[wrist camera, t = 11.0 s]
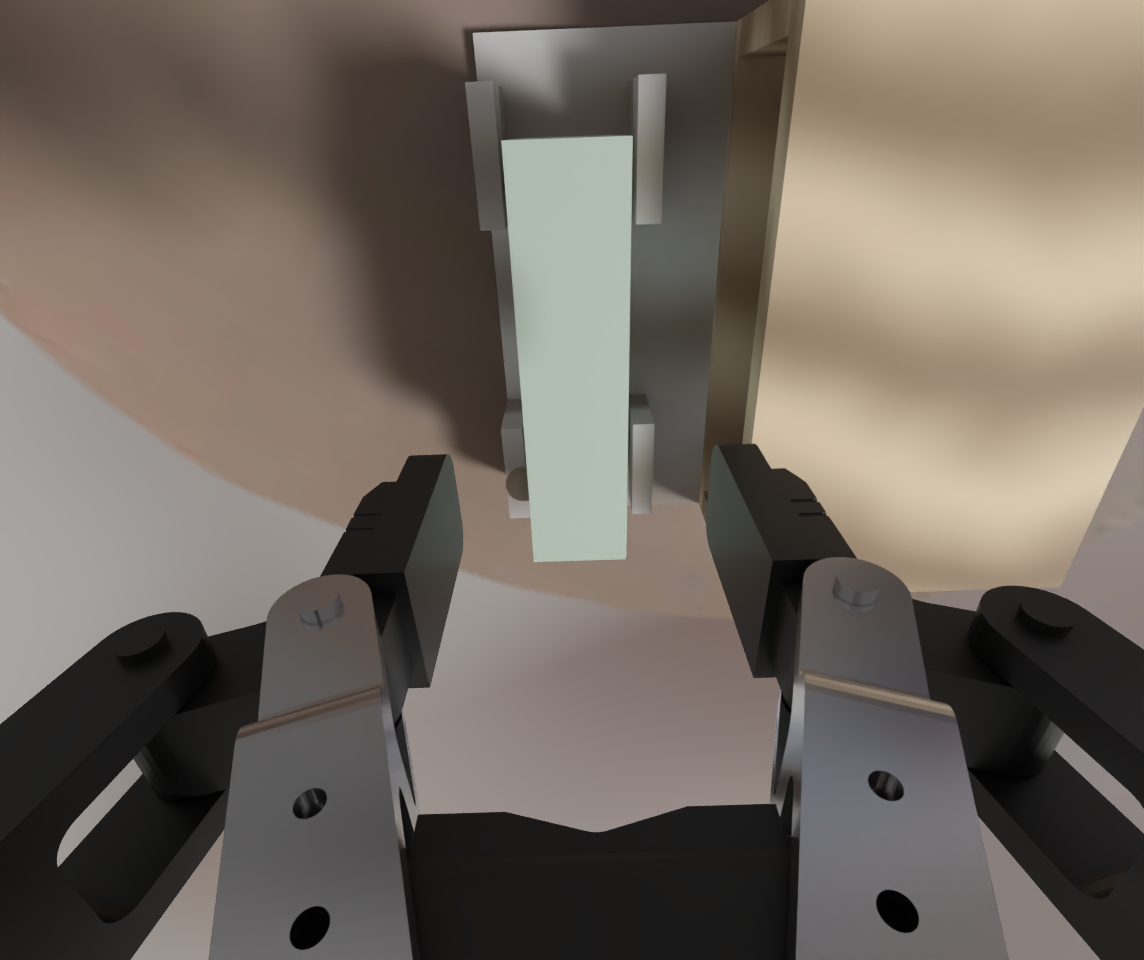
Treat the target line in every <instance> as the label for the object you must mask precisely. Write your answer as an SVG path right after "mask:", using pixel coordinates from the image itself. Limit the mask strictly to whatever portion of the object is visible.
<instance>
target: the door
mask: <svg viewBox="0 0 1144 960" xmlns="http://www.w3.org/2000/svg"><path fill="white" fill-rule="evenodd" d="M501 143H502V156H503V169H504V182H505V194H506V207H507V220H508V233H509V246H510V259H511V272H512V285H513V297H514V310H515V323H516V336H517V349H518V362H519V375H520V387H521V400H522V413H523V426H524V439H525V452H526V465H527V467H519V468H516V469H514V470H513V471H511V472H510V474H509V475H508V477H507V480H506V488H507V491H508V493H509V494H510V496H511V497H513V498H514V499H516V500H518V501H528V500H529V503H530V516H531V529H532V542H533V555H534V562H547V561H580V560H613V559H626V538H627V473H628V408H629V344H630V279H631V214H632V150H633V136H628V135H593V136H566V137H538V138H519V139H510V140H501Z"/></svg>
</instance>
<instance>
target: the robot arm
mask: <svg viewBox="0 0 1144 960" xmlns="http://www.w3.org/2000/svg"><path fill="white" fill-rule="evenodd" d="M706 530H707V539H708V544H709V548H710V551H711V554H712V557H713V560H714V563H715V566H716V569H717V572H718V575H719V578H720V581H721V583H722V586H723V589H724V592H725V595H726V598H727V601H728V604H729V607H730V610H731V613H732V616H733V619H734V622H735V625H736V628H737V630H738V634H739V637H740V640H741V642H742V645H743V648H744V651H745V654H746V657H747V660H748V663H749V666H750V669H751V672H752V675H753V677H754V678H768V677H776V678H777V681H778V683H779V686H780V689H781V692H780V697H779V702H778V708H777V717H776V730H775V742H774V756H773V768H772V780H771V781H772V782H771V793H770V804H752V805H721V806H687V807H684V808H681V809H678V810H674V811H671V812H668V813H664V814H661V815H658V816H655V817H651V818H648V819H645V820H641V821H638V822H635V823H632V824H628V825H625V826H622V827H618V828H615V829H611V830H608V831H604V832H588V831H583V830H579V829H575V828H570V827H567V826H562V825H558V824H554V823H549V822H545V821H541V820H537V819H533V818H529V817H524V816H520V815H515V814H512V813H507V812H489V813H458V814H457V813H456V814H425V815H420V810H419V803H418V797H417V791H416V785H415V779H414V773H413V766H412V760H411V754H410V748H409V742H408V736H407V729H406V723H405V719H404V715H403V711H402V708H403V705H404V701H405V698H406V694H407V691H408V688H424V687H425V688H426V687H427V688H428V687H430V685H431V681H432V677H433V672H434V668H435V664H436V660H437V656H438V652H439V648H440V643H441V639H442V635H443V631H444V627H445V623H446V618H447V614H448V610H449V606H450V602H451V598H452V594H453V589H454V585H455V581H456V577H457V573H458V569H459V564H460V560H461V556H462V550H463V526H462V519H461V512H460V506H459V499H458V493H457V486H456V480H455V473H454V467H453V462H452V459H451V457H450V455H449V454H442V455H414V456H409V457H408V458H407V460H406V463H405V465H404V467H403V469H402V471H401V473H400V475H399V477H398V480H397V482H382V483H380V484H379V485H378V486H377V487H375V488H374V489H373V490H372V491H370V492H369V493H368V494H367V495H365V496H364V497H363V498H362V500H361V502H360V504H359V506H358V507H357V509H356V511H355V513H354V518H352V519H351V520H350V522H349V524H348V526H347V528H346V532H344V533H343V535H342V537H341V539H340V541H339V543H338V545H337V546H336V548H335V550H334V552H333V554H332V555H331V557H330V559H329V561H328V563H327V565H326V567H325V569H324V570H323V572H322V574H321V576H320V577H317V578H314V579H310V580H308V581H305V582H303V583H301V584H299V585H297V586H295V587H293V588H292V589H290V590H289V591H287V592H286V593H284V594H283V595H282V596H281V597H280V598H279V599H278V600H277V601H276V602H275V603H274V604H273V606H272V607H271V609H270V611H269V613H268V616H267V621H266V622H263V623H259V624H256V625H252V626H249V627H245V628H241V629H236V630H233V631H229V632H225V633H221V634H217V635H213V636H209V637H208V636H207V634H206V632H205V630H204V627H203V625H202V623H201V621H200V620H199V619H198V618H197V617H195V616H193V615H191V614H187V613H181V612H171V613H170V612H169V613H162V614H157V615H152V616H148V617H145V618H143V619H140V620H137V621H135V622H132V623H130V624H128V625H126V626H124V627H122V628H120V629H118V630H117V631H115V632H114V633H112V634H110V635H109V636H107V637H106V638H105V639H103V640H102V641H101V642H100V643H98V644H97V645H96V646H95V647H93V648H92V649H91V650H90V651H89V652H87V653H86V654H85V655H84V656H83V657H81V658H80V659H79V660H78V661H76V662H75V663H74V664H73V665H72V666H70V667H69V668H68V669H67V670H66V671H64V672H63V673H62V674H61V675H59V676H58V677H57V678H56V679H55V680H53V681H52V682H51V683H50V684H49V685H47V686H46V687H45V688H44V689H42V690H41V691H40V692H39V693H38V694H36V695H35V696H34V697H33V698H32V699H30V700H29V701H28V702H27V703H26V704H24V705H23V706H22V707H21V708H19V709H18V710H17V711H16V712H15V713H14V714H12V715H11V716H10V717H9V718H7V719H6V720H5V721H4V722H2V723H1V724H0V960H131V958H132V957H133V955H134V954H135V953H136V951H137V950H138V948H139V947H140V946H141V944H142V943H143V941H144V940H145V939H146V937H147V936H148V935H149V933H150V932H151V930H152V929H153V927H154V926H155V925H156V923H157V922H158V921H159V919H160V918H161V917H162V915H163V914H164V912H165V911H166V910H167V908H168V907H169V905H170V904H171V903H172V901H173V900H174V898H175V897H176V896H177V894H178V893H179V891H180V890H181V889H182V887H183V886H184V885H185V883H186V882H187V880H188V879H189V878H190V876H191V875H192V873H193V872H194V871H195V869H196V868H197V867H198V865H199V864H200V862H201V861H202V859H203V858H204V857H205V855H206V854H207V853H208V851H209V850H210V848H211V847H212V846H213V844H214V843H215V842H216V840H217V839H218V837H219V836H220V835H221V833H222V832H223V830H224V838H223V846H222V854H221V863H220V871H219V878H218V887H217V895H216V903H215V911H214V919H213V927H212V936H211V944H210V953H209V960H1009V958H1008V953H1007V949H1006V944H1005V940H1004V935H1003V930H1002V926H1001V922H1000V917H999V912H998V908H997V903H996V898H995V894H994V889H993V885H992V880H991V875H990V871H989V866H988V862H987V857H986V852H985V848H984V843H983V839H982V834H981V829H980V825H979V820H978V816H979V818H980V819H981V820H982V821H983V822H984V823H985V825H986V826H987V827H988V828H989V829H990V830H991V832H992V833H993V834H994V835H995V836H996V838H997V839H998V840H999V841H1000V842H1001V843H1002V845H1003V846H1004V847H1005V848H1006V849H1007V850H1008V852H1009V853H1010V854H1011V855H1012V856H1013V857H1014V859H1015V860H1016V861H1017V862H1018V863H1019V864H1020V866H1021V867H1022V868H1023V869H1024V870H1025V871H1026V873H1027V874H1028V875H1029V876H1030V877H1031V879H1032V880H1033V881H1034V882H1035V883H1036V884H1037V886H1038V887H1039V888H1040V889H1041V890H1042V891H1043V893H1044V894H1045V895H1046V896H1047V897H1048V899H1049V900H1050V901H1051V902H1052V903H1053V904H1054V906H1055V907H1056V908H1057V909H1058V910H1059V911H1060V913H1061V914H1062V915H1063V916H1064V917H1065V919H1066V920H1067V921H1068V922H1069V923H1070V924H1071V926H1072V927H1073V928H1074V929H1075V930H1076V931H1077V933H1078V934H1079V935H1080V936H1081V937H1082V938H1083V940H1084V941H1085V942H1086V943H1087V944H1088V945H1089V946H1090V948H1091V949H1092V950H1093V951H1094V953H1095V954H1096V955H1097V956H1098V957H1099V958H1100V960H1144V834H1143V833H1142V832H1141V831H1140V830H1139V829H1138V828H1137V827H1136V826H1135V825H1134V824H1133V823H1132V822H1131V821H1130V820H1129V819H1127V818H1126V817H1125V816H1124V815H1123V814H1122V813H1121V812H1120V811H1119V810H1118V809H1117V808H1116V807H1115V806H1114V805H1112V804H1111V803H1110V802H1109V801H1108V800H1107V799H1106V798H1105V797H1104V796H1103V795H1102V794H1101V793H1100V792H1099V791H1098V790H1096V789H1095V788H1094V787H1093V786H1092V785H1091V784H1090V783H1089V782H1088V781H1087V780H1086V779H1085V778H1084V777H1083V776H1082V775H1080V774H1079V773H1078V772H1077V771H1076V770H1075V769H1074V768H1073V767H1072V766H1071V765H1070V764H1069V763H1068V762H1067V761H1066V760H1065V759H1063V758H1062V757H1061V756H1060V755H1059V754H1058V753H1057V752H1056V751H1055V748H1056V746H1057V744H1058V743H1059V741H1060V739H1061V737H1062V736H1063V734H1064V733H1065V734H1066V735H1068V736H1069V737H1070V738H1071V739H1072V740H1073V741H1074V742H1075V743H1076V744H1077V745H1079V746H1080V747H1081V748H1082V749H1083V750H1084V751H1085V752H1086V753H1088V754H1089V755H1090V756H1091V757H1092V758H1093V759H1094V760H1095V761H1096V762H1098V763H1099V764H1100V765H1101V766H1102V767H1103V768H1104V769H1105V770H1106V771H1107V772H1109V773H1110V774H1111V775H1112V776H1113V777H1114V778H1115V779H1116V780H1118V781H1119V782H1120V783H1121V784H1122V785H1123V786H1124V787H1125V788H1127V789H1128V790H1129V791H1130V792H1131V793H1132V794H1133V795H1134V796H1135V797H1136V799H1137V800H1138V801H1139V802H1140V804H1141V805H1142V807H1143V808H1144V650H1143V649H1142V648H1141V647H1139V646H1138V645H1136V644H1135V643H1133V642H1132V641H1130V640H1129V639H1128V638H1126V637H1124V636H1123V635H1122V634H1120V633H1119V632H1117V631H1116V630H1114V629H1113V628H1112V627H1110V626H1108V625H1107V624H1106V623H1104V622H1103V621H1102V620H1100V619H1099V618H1097V617H1096V616H1094V615H1093V614H1091V613H1090V612H1089V611H1087V610H1086V609H1084V608H1082V607H1081V606H1079V605H1078V604H1076V603H1074V602H1072V601H1070V600H1068V599H1066V598H1063V597H1061V596H1059V595H1056V594H1053V593H1050V592H1047V591H1044V590H1040V589H1036V588H1031V587H1025V586H1000V587H996V588H993V589H990V590H989V591H987V592H986V593H985V594H984V595H983V596H982V598H981V600H980V603H979V605H978V608H977V610H976V612H975V611H970V610H964V609H959V608H953V607H947V606H942V605H936V604H931V603H926V602H921V601H918V600H914V599H912V597H911V594H910V591H909V590H908V588H907V586H906V585H905V584H904V583H903V582H902V581H901V580H900V579H899V578H898V577H897V576H896V575H894V574H893V573H891V572H890V571H888V570H886V569H884V568H883V567H881V566H878V565H876V564H873V563H871V562H867V561H864V560H860V559H857V557H856V556H855V554H854V553H853V551H852V550H851V548H850V547H849V545H848V544H847V542H846V541H845V539H844V538H843V536H842V535H841V534H840V532H839V531H838V529H837V528H836V526H835V525H834V523H833V522H832V520H831V519H830V517H829V516H826V511H825V510H824V508H823V507H822V505H821V504H820V502H817V498H816V496H815V495H814V493H813V492H812V490H811V489H810V487H809V486H808V484H807V483H806V482H805V481H804V480H802V479H801V478H799V477H798V476H796V475H795V474H793V473H792V472H790V471H789V470H787V469H786V468H776V469H771V467H770V466H769V464H768V462H767V461H766V459H765V457H764V456H763V454H762V452H761V451H760V449H759V447H758V446H757V445H756V444H728V445H715V446H714V448H713V452H712V458H711V468H710V479H709V490H708V502H707V513H706ZM132 759H134V760H135V762H136V764H137V765H138V767H139V768H140V770H141V772H142V773H143V774H142V775H141V776H140V778H139V779H138V780H137V781H136V782H135V783H134V784H133V785H132V786H131V787H130V789H129V790H128V791H127V792H126V793H125V794H124V795H123V796H122V797H121V799H120V800H119V801H118V802H117V803H116V804H115V805H114V806H113V807H112V809H111V810H110V811H109V812H108V813H107V814H106V815H105V816H104V817H103V818H102V820H101V821H100V822H99V823H98V824H97V825H96V826H95V827H94V828H93V830H92V831H91V832H90V833H89V834H88V835H87V836H86V837H85V838H84V839H83V841H82V842H81V843H80V844H79V845H78V846H77V847H76V848H75V849H74V850H73V852H72V853H71V854H70V855H69V856H68V857H67V858H66V859H65V861H64V862H63V863H62V864H61V865H60V866H59V867H58V866H57V853H58V849H59V846H60V843H61V841H62V839H63V837H64V835H65V833H66V832H67V830H68V829H69V827H70V826H71V825H72V823H73V822H74V821H75V820H76V819H77V818H78V817H79V816H80V814H81V813H82V812H83V811H84V810H85V809H86V808H87V807H88V806H89V805H90V804H91V803H92V801H94V800H95V798H96V797H97V796H98V795H99V794H100V793H101V792H102V791H103V790H104V789H105V788H106V787H107V786H108V785H109V784H110V783H111V782H112V780H113V779H114V778H115V777H116V776H117V775H118V774H119V773H120V772H121V771H122V770H123V769H124V768H125V767H126V766H127V764H128V763H129V762H130V761H131V760H132ZM977 815H978V816H977Z"/></svg>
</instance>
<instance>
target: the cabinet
mask: <svg viewBox="0 0 1144 960" xmlns="http://www.w3.org/2000/svg"><path fill="white" fill-rule="evenodd" d="M473 42H474V53H475V63H476V74H477V82H465V89H466V98H467V108H468V118H469V127H470V137H471V146H472V156H473V166H474V175H475V185H476V195H477V204H478V214H479V224H480V231H489V230H491V231H492V242H493V253H494V263H495V274H496V284H497V295H498V305H499V316H500V326H501V337H502V347H503V358H504V368H505V379H506V389H507V404H506V408H505V413H504V417H503V422H502V426H501V436H502V446H503V456H504V465H505V475H506V480H507V477H508V475H509V474H510V472H511V471H513V470H514V469H516V468H519V467H527V465H526V452H525V439H524V426H523V413H522V400H521V387H520V375H519V362H518V349H517V336H516V323H515V310H514V297H513V285H512V272H511V259H510V246H509V233H508V220H507V207H506V194H505V182H504V169H503V156H502V143H501V140H510V139H519V138H538V137H566V136H593V135H628V136H633V150H632V214H631V279H630V344H629V408H628V473H627V506H631V511H632V514H646V513H652V505H669V504H698V503H699V505H700V508H701V510H702V513H703V516H704V519H705V522H706V513H707V502H708V490H709V479H710V468H711V458H712V452H713V448H714V446H715V445H728V444H756V445H757V446H758V447H759V449H760V451H761V452H762V454H763V456H764V457H765V459H766V461H767V462H768V464H769V466H770V467H771V469H776V468H786V469H787V470H789V471H790V472H792V473H793V474H795V475H796V476H798V477H799V478H801V479H802V480H804V481H805V482H806V483H807V484H808V486H809V487H810V489H811V490H812V492H813V493H814V495H815V496H816V498H817V502H820V504H821V505H822V507H823V508H824V510H825V511H826V516H829V517H830V519H831V520H832V522H833V523H834V525H835V526H836V528H837V529H838V531H839V532H840V534H841V535H842V536H843V538H844V539H845V541H846V542H847V544H848V545H849V547H850V548H851V550H852V551H853V553H854V554H855V556H856V557H857V559H860V560H864V561H867V562H871V563H873V564H876V565H878V566H881V567H883V568H884V569H886V570H888V571H890V572H891V573H893V574H894V575H896V576H897V577H898V578H899V579H900V580H901V581H902V582H903V583H904V584H905V585H906V586H907V588H908V590H909V591H910V592H923V591H952V590H981V589H993V588H996V587H1000V586H1025V587H1031V588H1041V587H1061V585H1062V582H1063V580H1064V578H1065V576H1066V574H1067V572H1068V570H1069V567H1070V565H1071V563H1072V561H1073V559H1074V556H1075V554H1076V552H1077V550H1078V548H1079V546H1080V544H1081V541H1082V539H1083V537H1084V535H1085V533H1086V531H1087V528H1088V526H1089V524H1090V522H1091V520H1092V518H1093V515H1094V513H1095V511H1096V509H1097V507H1098V504H1099V502H1100V500H1101V498H1102V496H1103V494H1104V491H1105V489H1106V487H1107V485H1108V483H1109V481H1110V478H1111V476H1112V474H1113V472H1114V470H1115V468H1116V465H1117V463H1118V461H1119V459H1120V457H1121V455H1122V452H1123V450H1124V448H1125V446H1126V444H1127V442H1128V439H1129V437H1130V435H1131V433H1132V431H1133V429H1134V426H1135V424H1136V422H1137V420H1138V418H1139V416H1140V413H1141V411H1142V409H1143V407H1144V0H769V1H767V2H766V3H764V4H763V5H761V6H760V7H758V8H757V9H755V10H753V11H752V12H750V13H749V14H747V15H746V16H744V17H743V18H741V19H740V20H738V21H734V22H711V23H688V24H665V25H642V26H619V27H597V28H574V29H551V30H528V31H505V32H482V33H473ZM507 494H508V504H509V514H510V518H529V517H530V503H529V500H528V501H518V500H516V499H514V498H513V497H511V496H510V494H509V493H508V491H507Z"/></svg>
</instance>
